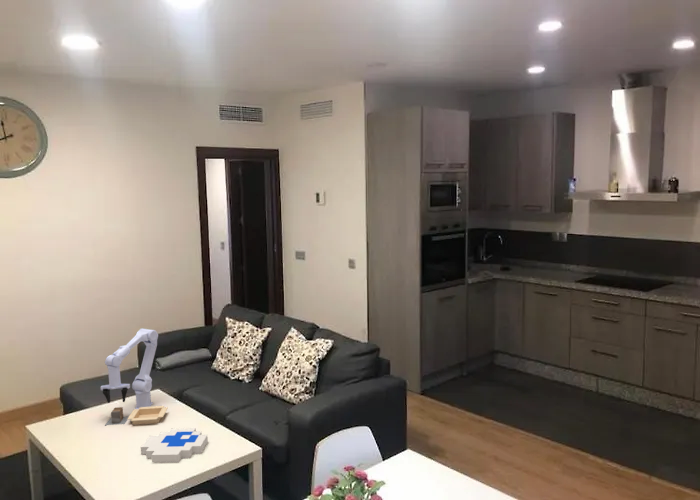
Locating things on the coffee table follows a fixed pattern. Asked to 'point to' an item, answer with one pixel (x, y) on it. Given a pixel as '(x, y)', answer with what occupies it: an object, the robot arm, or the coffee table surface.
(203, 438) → the pixel art tile
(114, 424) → the slate mat
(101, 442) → the coffee table surface
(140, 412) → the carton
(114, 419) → the walnut block
